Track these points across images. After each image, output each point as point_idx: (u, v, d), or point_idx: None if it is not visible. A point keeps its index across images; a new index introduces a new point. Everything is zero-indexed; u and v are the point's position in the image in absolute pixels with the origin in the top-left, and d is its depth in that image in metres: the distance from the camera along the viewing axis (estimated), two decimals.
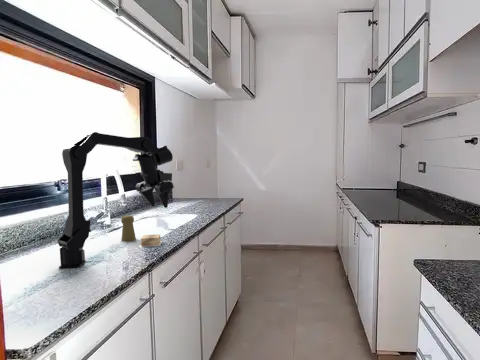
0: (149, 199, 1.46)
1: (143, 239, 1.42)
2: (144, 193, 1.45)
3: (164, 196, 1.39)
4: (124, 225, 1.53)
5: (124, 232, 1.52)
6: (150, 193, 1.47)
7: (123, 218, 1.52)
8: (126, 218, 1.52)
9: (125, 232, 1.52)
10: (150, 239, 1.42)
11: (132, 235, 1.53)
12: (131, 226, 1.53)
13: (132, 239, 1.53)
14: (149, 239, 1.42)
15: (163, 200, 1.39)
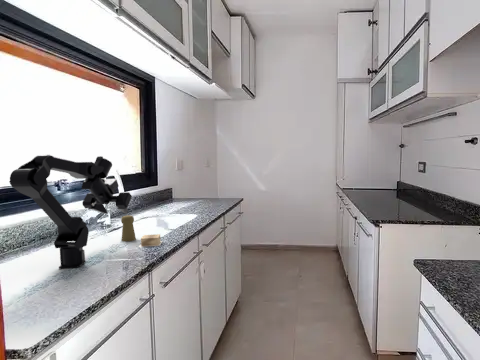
0: (101, 210, 1.45)
1: (143, 239, 1.42)
2: (96, 207, 1.42)
3: None
4: (124, 225, 1.53)
5: (124, 232, 1.52)
6: (100, 204, 1.44)
7: (123, 218, 1.52)
8: (126, 218, 1.52)
9: (125, 232, 1.52)
10: (150, 239, 1.42)
11: (132, 235, 1.53)
12: (131, 226, 1.53)
13: (132, 239, 1.53)
14: (149, 239, 1.42)
15: (124, 209, 1.42)
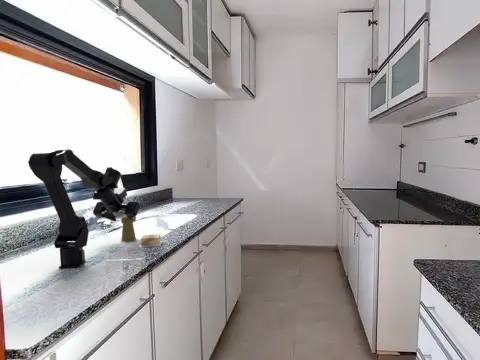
0: (111, 217, 1.51)
1: (143, 239, 1.42)
2: (106, 216, 1.48)
3: None
4: (124, 225, 1.53)
5: (124, 232, 1.52)
6: None
7: (123, 218, 1.52)
8: (126, 218, 1.52)
9: (125, 232, 1.52)
10: (150, 239, 1.42)
11: (132, 235, 1.53)
12: (131, 226, 1.53)
13: (132, 239, 1.53)
14: (149, 239, 1.42)
15: (133, 217, 1.48)
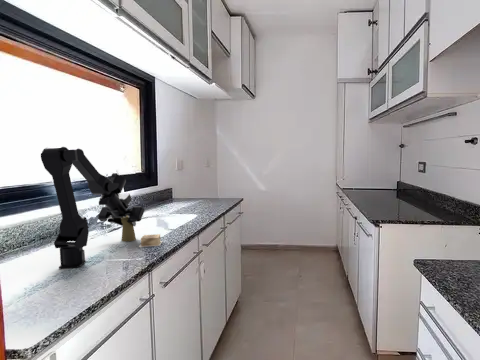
0: (120, 222, 1.54)
1: (143, 239, 1.42)
2: (115, 220, 1.51)
3: None
4: (124, 225, 1.53)
5: (124, 232, 1.52)
6: None
7: (123, 218, 1.52)
8: (126, 218, 1.52)
9: (125, 232, 1.52)
10: (150, 239, 1.42)
11: (132, 235, 1.53)
12: (131, 226, 1.53)
13: (132, 239, 1.53)
14: (149, 239, 1.42)
15: (133, 222, 1.52)
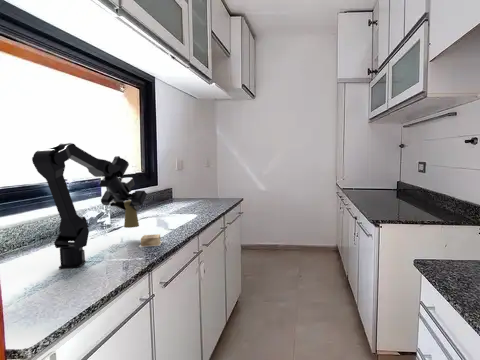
0: (123, 207, 1.52)
1: (143, 239, 1.42)
2: (117, 205, 1.49)
3: None
4: (127, 209, 1.51)
5: (127, 217, 1.51)
6: (121, 201, 1.52)
7: (126, 202, 1.51)
8: (129, 202, 1.50)
9: (127, 216, 1.51)
10: (150, 239, 1.42)
11: (135, 220, 1.51)
12: (134, 211, 1.52)
13: (135, 224, 1.51)
14: (149, 239, 1.42)
15: (136, 207, 1.50)
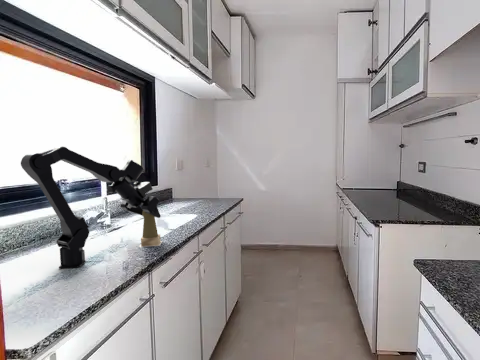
0: (139, 212, 1.47)
1: (143, 239, 1.42)
2: (132, 210, 1.45)
3: (154, 210, 1.40)
4: (144, 219, 1.44)
5: (144, 226, 1.43)
6: (137, 206, 1.46)
7: (143, 211, 1.43)
8: None
9: (144, 226, 1.43)
10: (150, 239, 1.42)
11: (151, 230, 1.43)
12: (151, 220, 1.43)
13: (151, 234, 1.43)
14: (149, 239, 1.42)
15: (155, 214, 1.40)
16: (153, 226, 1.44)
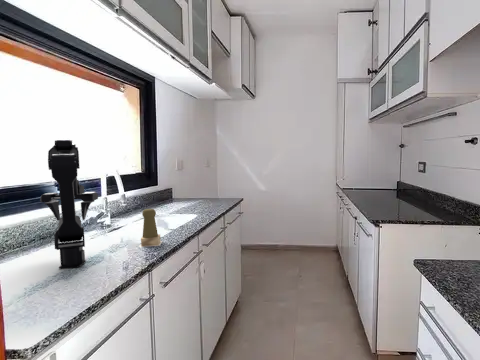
0: (56, 212, 1.33)
1: (143, 239, 1.42)
2: (53, 205, 1.32)
3: (86, 207, 1.34)
4: (144, 219, 1.44)
5: (144, 226, 1.43)
6: (57, 206, 1.35)
7: (143, 211, 1.43)
8: (145, 211, 1.43)
9: (144, 226, 1.43)
10: (150, 239, 1.42)
11: (151, 230, 1.43)
12: (151, 220, 1.43)
13: (151, 234, 1.43)
14: (149, 239, 1.42)
15: (85, 211, 1.33)
16: (153, 226, 1.44)
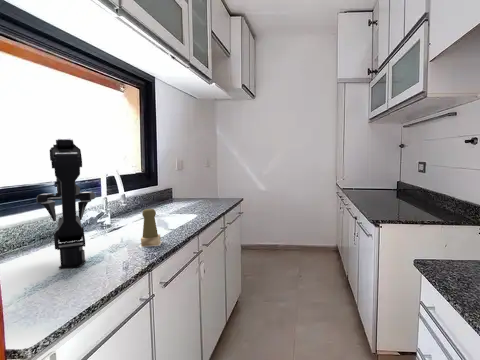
0: (53, 212, 1.32)
1: (143, 239, 1.42)
2: (50, 205, 1.31)
3: (83, 207, 1.34)
4: (144, 219, 1.44)
5: (144, 226, 1.43)
6: (53, 206, 1.34)
7: (143, 211, 1.43)
8: (145, 211, 1.43)
9: (144, 226, 1.43)
10: (150, 239, 1.42)
11: (151, 230, 1.43)
12: (151, 220, 1.43)
13: (151, 234, 1.43)
14: (149, 239, 1.42)
15: (82, 210, 1.33)
16: (153, 226, 1.44)
